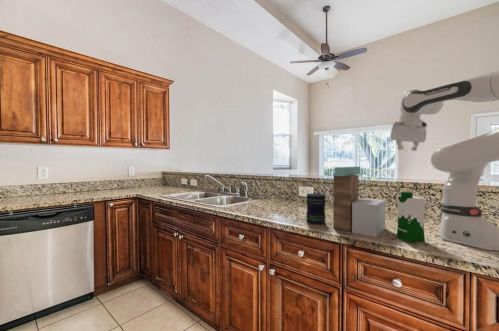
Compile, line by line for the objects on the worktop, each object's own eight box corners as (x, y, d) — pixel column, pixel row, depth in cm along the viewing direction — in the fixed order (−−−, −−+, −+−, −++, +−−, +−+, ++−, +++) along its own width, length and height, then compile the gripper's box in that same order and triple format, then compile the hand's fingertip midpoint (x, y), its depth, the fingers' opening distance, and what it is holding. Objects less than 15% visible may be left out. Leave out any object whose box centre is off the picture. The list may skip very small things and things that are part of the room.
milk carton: (393, 237, 104) (393, 191, 104) (411, 236, 106) (411, 190, 105) (409, 244, 96) (410, 193, 95) (429, 242, 97) (430, 193, 97)
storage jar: (326, 225, 124) (326, 196, 123) (306, 224, 126) (306, 195, 125) (324, 220, 133) (324, 193, 133) (306, 219, 135) (306, 193, 135)
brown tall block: (342, 223, 127) (342, 174, 126) (358, 226, 121) (358, 174, 121) (333, 228, 117) (333, 175, 117) (350, 231, 112) (350, 176, 112)
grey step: (363, 225, 124) (363, 197, 124) (385, 228, 117) (385, 199, 117) (352, 232, 110) (352, 202, 110) (376, 237, 104) (376, 205, 103)
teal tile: (352, 173, 132) (352, 166, 132) (360, 174, 130) (360, 166, 130) (334, 175, 113) (334, 167, 113) (343, 176, 110) (343, 167, 110)
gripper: (399, 120, 117) (397, 148, 118) (429, 124, 124) (427, 151, 124) (388, 122, 123) (386, 149, 124) (417, 125, 130) (415, 151, 130)
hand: (407, 150), depth 124 cm, fingers open, 8 cm apart
